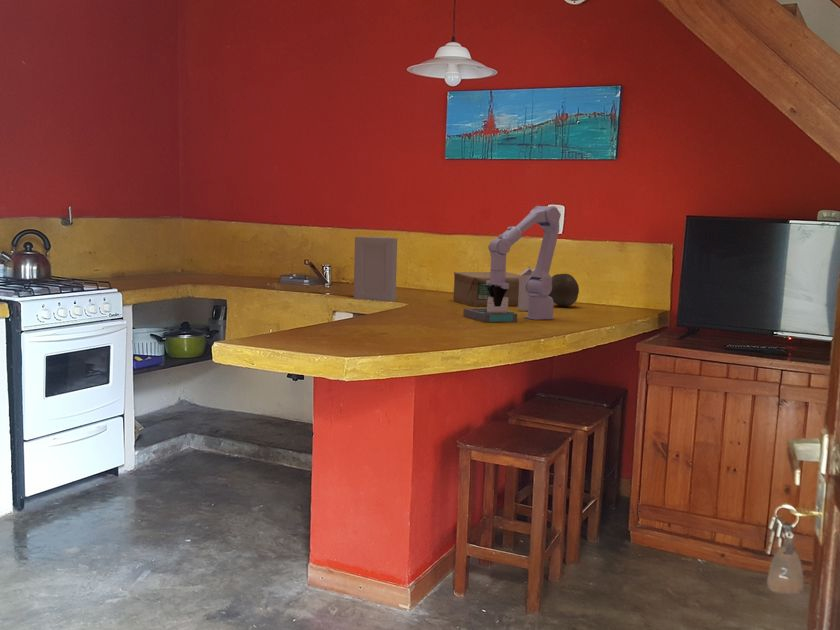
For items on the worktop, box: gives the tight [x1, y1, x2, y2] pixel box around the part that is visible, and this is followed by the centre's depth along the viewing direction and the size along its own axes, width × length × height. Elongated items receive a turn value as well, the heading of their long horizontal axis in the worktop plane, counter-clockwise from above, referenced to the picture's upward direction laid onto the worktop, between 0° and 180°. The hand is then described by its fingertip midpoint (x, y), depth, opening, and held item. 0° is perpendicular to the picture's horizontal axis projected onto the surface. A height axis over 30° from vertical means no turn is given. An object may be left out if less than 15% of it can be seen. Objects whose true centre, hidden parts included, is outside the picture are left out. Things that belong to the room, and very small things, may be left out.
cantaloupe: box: [549, 273, 580, 308], centre depth 366 cm, size 14×14×15 cm
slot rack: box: [462, 307, 518, 323], centre depth 315 cm, size 14×18×3 cm
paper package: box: [453, 271, 520, 308], centre depth 369 cm, size 27×26×14 cm
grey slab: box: [486, 297, 509, 314], centre depth 310 cm, size 8×2×7 cm, turn 113°
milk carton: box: [517, 265, 535, 312], centre depth 347 cm, size 7×7×19 cm
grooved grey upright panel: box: [353, 236, 398, 302], centre depth 374 cm, size 19×15×28 cm
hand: (496, 306), depth 310 cm, fingers closed on grey slab, 2 cm apart
